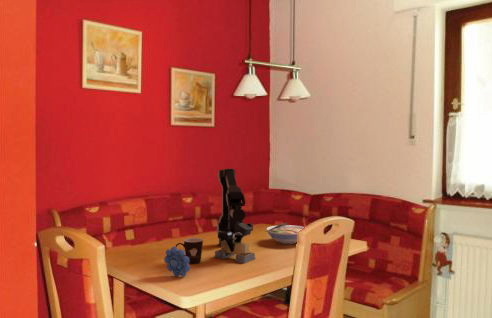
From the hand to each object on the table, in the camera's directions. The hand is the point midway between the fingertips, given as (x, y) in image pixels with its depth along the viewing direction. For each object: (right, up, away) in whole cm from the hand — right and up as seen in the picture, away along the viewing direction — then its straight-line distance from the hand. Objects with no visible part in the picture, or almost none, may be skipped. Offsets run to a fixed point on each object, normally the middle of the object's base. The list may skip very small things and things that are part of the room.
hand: (234, 250), depth 209 cm
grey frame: (0, -4, 0) cm, 4 cm away
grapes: (-23, -5, -28) cm, 36 cm away
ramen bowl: (+27, -2, +32) cm, 42 cm away
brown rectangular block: (0, -1, 0) cm, 1 cm away
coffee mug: (-20, -4, -6) cm, 21 cm away
